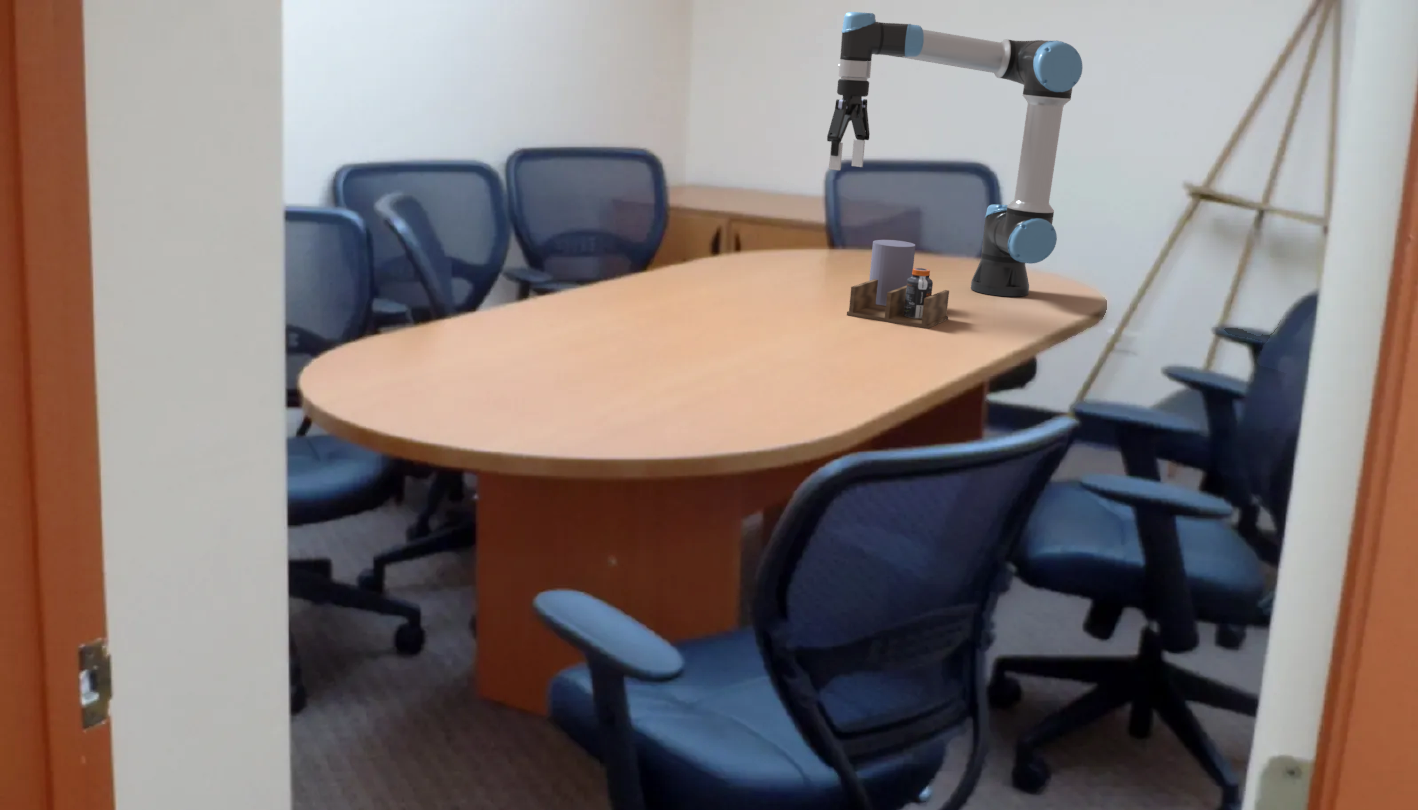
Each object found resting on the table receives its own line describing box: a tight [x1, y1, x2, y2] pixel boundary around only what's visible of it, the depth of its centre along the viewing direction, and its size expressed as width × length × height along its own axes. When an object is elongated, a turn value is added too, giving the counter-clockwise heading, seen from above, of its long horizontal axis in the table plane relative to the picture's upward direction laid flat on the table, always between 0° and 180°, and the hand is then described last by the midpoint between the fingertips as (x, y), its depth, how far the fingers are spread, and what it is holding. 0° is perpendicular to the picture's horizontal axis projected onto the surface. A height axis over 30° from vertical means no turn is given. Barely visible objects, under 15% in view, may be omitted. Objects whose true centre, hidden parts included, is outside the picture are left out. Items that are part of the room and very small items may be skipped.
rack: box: [846, 279, 950, 329], centre depth 317 cm, size 14×20×7 cm
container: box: [868, 239, 916, 306], centre depth 332 cm, size 10×10×15 cm
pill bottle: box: [904, 267, 934, 319], centre depth 314 cm, size 6×6×11 cm
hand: (846, 168), depth 331 cm, fingers open, 13 cm apart
